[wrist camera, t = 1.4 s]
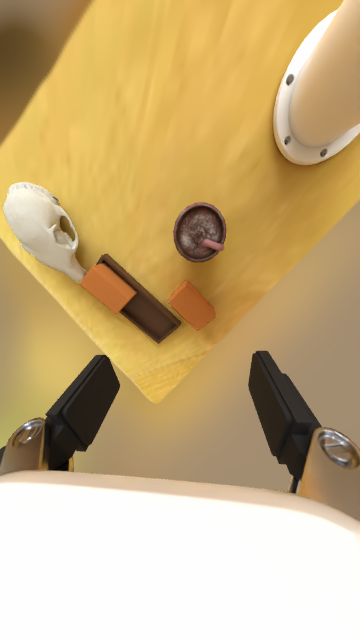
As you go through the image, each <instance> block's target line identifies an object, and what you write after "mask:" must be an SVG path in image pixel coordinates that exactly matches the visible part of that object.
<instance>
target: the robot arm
mask: <svg viewBox="0 0 360 640" xmlns="http://www.w3.org/2000/svg"><path fill="white" fill-rule="evenodd" d="M286 83H287V84H288V85H287V84H286ZM273 128H274V136H275V140H276V144H277V146H278V148H279V150H280V152H281V153H282V154H283V155H284V157H285V158H286V159H288V160H289V161H291V162H292V163H295V164H298V165H311V164H317V163H319V162H322V161H324V160H326V159H328V158H330V157H332V156H333V155H335V154H336V153H338V152H339V151H341V150H342V149H344V148H345V147H346V146H347V145H348V144H349V143H350V142H351V141H352V140H354V139H355V137H356V136H357V135H358V134H359V133H360V0H344V1H343V3H342V4H341V6H340V8H339V9H338V10H336V11H334V12H332V13H331V14H329V15H328V16H327V17H326V18H325V19H323V20H322V21H321V22H320V23H319V24H317V26H316V27H315V28H314V29H313V30H312V31H311V32H310V33H309V35H308V36H307V37H306V38H305V40H304V41H303V43H302V44H301V46H300V47H299V48H298V50H297V51H296V53H295V55H294V57H293V58H292V60H291V62H290V64H289V66H288V68H287V70H286V72H285V74H284V77H283V79H282V81H281V84H280V87H279V90H278V93H277V97H276V102H275V107H274V116H273ZM284 142H286V145H285V144H284ZM320 154H321V156H320ZM248 385H249V391H250V394H251V396H252V399H253V402H254V405H255V408H256V410H257V414H258V416H259V419H260V422H261V425H262V428H263V431H264V433H265V436H266V439H267V442H268V445H269V448H270V451H271V453H272V455H273V456H276V457H277V460H278V462H279V464H286V465H287V467H288V470H289V472H290V474H291V475H292V478H291V481H290V485H289V488H288V492H283V491H277V490H271V489H262V488H252V487H244V486H234V485H223V484H213V483H200V482H189V481H179V480H167V479H155V478H143V477H132V476H120V475H107V474H94V473H81V472H74V468H73V454H74V452H75V450H77V451H86V450H87V448H88V446H89V445H90V444H91V443H92V442H93V440H94V438H95V436H96V434H97V432H98V430H99V428H100V426H101V424H102V422H103V420H104V418H105V416H106V414H107V412H108V410H109V408H110V406H111V404H112V402H113V401H114V399H115V396H116V394H117V393H118V391H119V388H120V384H119V381H118V379H117V376H116V374H115V372H114V369H113V367H112V364H111V362H110V359H109V358H108V357H107V356H106V355H96V356H95V357H94V358H93V359H92V360H91V361H90V362H89V364H88V365H87V366H86V367H85V368H84V370H83V371H82V372H81V373H80V374H79V375H78V377H77V378H76V379H75V380H74V381H73V382H72V384H71V385H70V386H69V387H68V388H67V389H66V391H65V392H64V393H63V394H62V395H61V397H60V398H59V399H58V400H57V401H56V402H55V404H54V405H53V406H52V407H51V408H50V409H49V411H48V412H47V413H46V416H47V418H46V419H45V420H44V419H43V418H35V419H32V420H30V421H28V422H26V423H25V424H23V425H22V426H21V427H19V428H18V429H17V430H16V431H15V432H14V433H13V434H12V436H11V437H10V438H9V440H8V442H7V445H6V446H4V447H3V448H1V449H0V640H360V449H359V447H357V445H356V444H355V443H354V442H353V441H352V440H350V439H349V438H348V437H347V436H345V435H344V434H342V433H340V432H338V431H336V430H334V429H331V428H326V427H322V426H321V425H320V423H319V422H318V421H317V419H316V417H315V416H314V414H313V413H312V411H311V410H310V408H309V407H308V405H307V404H306V402H305V401H304V399H303V398H302V396H301V395H300V393H299V392H298V390H297V389H296V387H295V386H294V384H293V383H292V381H291V380H290V378H289V377H288V376H287V375H286V374H282V373H281V371H280V370H279V368H278V367H277V365H276V363H275V362H274V360H273V359H272V357H271V355H270V354H269V352H268V351H256V353H254V354H253V356H252V362H251V369H250V377H249V384H248Z"/></svg>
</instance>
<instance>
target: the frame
mask: <svg viewBox="0 0 360 640" xmlns="http://www.w3.org/2000/svg"><path fill="white" fill-rule="evenodd" d="M101 263H106V264H107V265H108V266H110V267H111V268H112V269H113V270H114V271H115V272H116V273H117V274H118V275H120V276H121V277H122V278H123V279H124V280H125V281H126V282H127V283H128V284H130V285H131V286H132V287H133V288H134V289H135V290H136V291H137V293H136V294H135V296H134V297H133V298H132V299H131V300H130V301H129V302H128V303H127V304H126V306H125V307H124V308H122V309H121V310H120V311H119V312H120V313H121V314H123V315H124V316H125V317H126V318H128V319H129V320H130V321H131V322H132V323H134V324H135V325H136V326H137V327H139V328H140V329H141V330H142V331H143V332H145V333H146V334H147V335H148V336H150V337H151V338H152V339H153V340H154V341H156V342H157V343H158V344H159V343H160V342H161V341H162V340H163V339H165V338H166V337H167V336H168V335H170V334H171V333H172V332H173V331H175V330H176V329H177V328H178V327H179V326H180V325H181V321H179V320H178V319H177V318H176V317H175V316H174V315H173V314H172V313H171V312H170V311H169V310H168V309H166V308H165V307H164V306H163V305H162V304H161V303H160V302H159V301H158V300H157V299H156V298H155V297H153V296H152V295H151V294H150V293H149V292H148V291H147V290H146V289H145V288H144V287H143V286H142V285H140V284H139V283H138V282H137V281H136V280H135V279H134V278H133V277H132V276H131V275H130V274H129V273H127V272H126V271H125V270H124V269H123V268H122V267H121V266H120V265H119V264H118V263H117V262H116V261H114V260H113V259H112V258H111V257H110V256H109V255H108V254H104V255H102V256H101V258H100V259H99V261H98V262H97V264H96V265H98V264H101Z"/></svg>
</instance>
